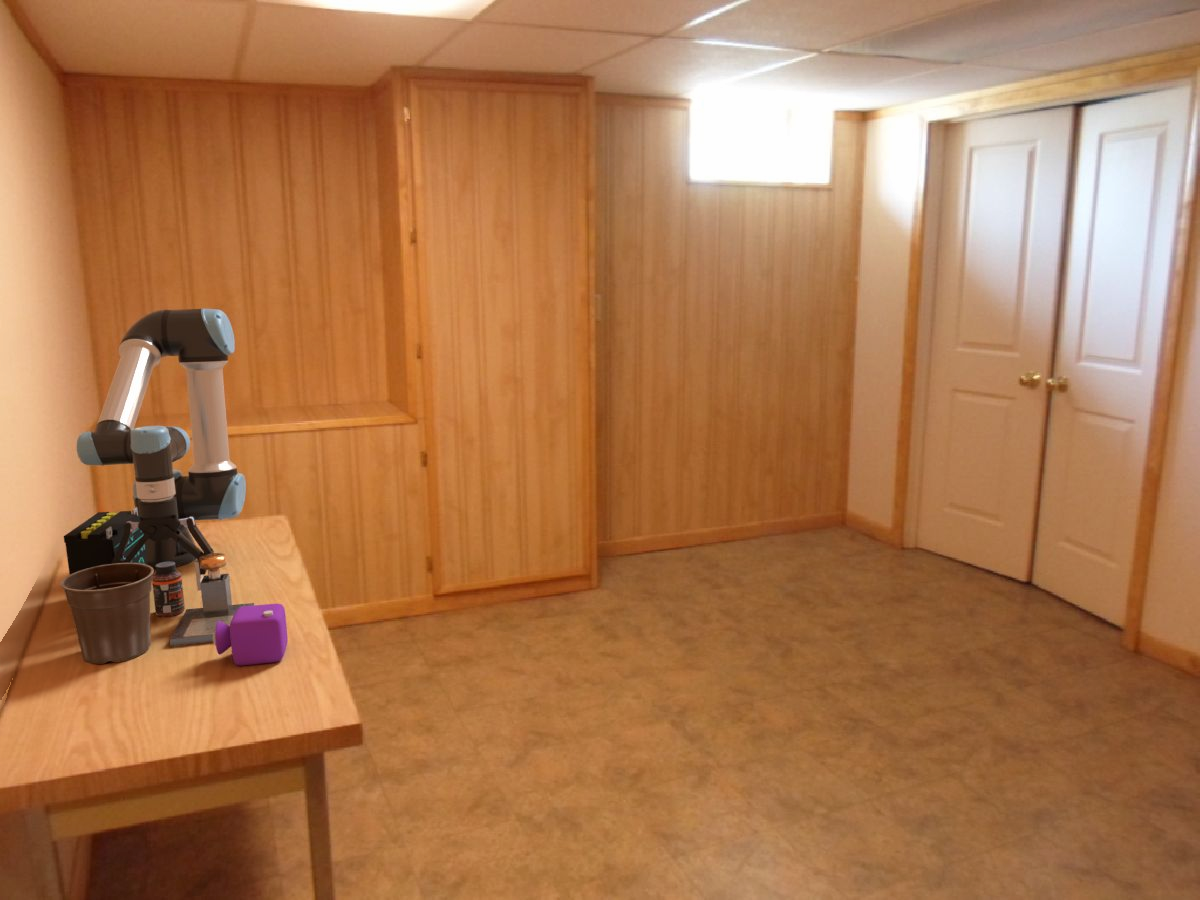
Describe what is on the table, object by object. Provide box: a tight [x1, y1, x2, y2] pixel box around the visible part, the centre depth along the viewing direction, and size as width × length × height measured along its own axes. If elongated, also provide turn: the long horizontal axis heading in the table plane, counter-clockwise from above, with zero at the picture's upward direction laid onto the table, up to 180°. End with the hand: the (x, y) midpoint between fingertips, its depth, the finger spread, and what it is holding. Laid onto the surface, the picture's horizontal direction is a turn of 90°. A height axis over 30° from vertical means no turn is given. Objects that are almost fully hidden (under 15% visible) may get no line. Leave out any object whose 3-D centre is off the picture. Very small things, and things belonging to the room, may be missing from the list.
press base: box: [169, 573, 255, 647], centre depth 194 cm, size 17×14×9 cm
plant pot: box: [60, 563, 155, 665], centre depth 182 cm, size 16×16×16 cm
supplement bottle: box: [152, 562, 186, 618], centre depth 203 cm, size 6×6×11 cm
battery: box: [63, 507, 148, 575], centre depth 208 cm, size 19×10×20 cm, turn 8°
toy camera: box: [212, 603, 289, 666], centre depth 179 cm, size 11×14×10 cm
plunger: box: [199, 552, 227, 581], centre depth 198 cm, size 5×5×7 cm
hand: (167, 591), depth 202 cm, fingers open, 13 cm apart
